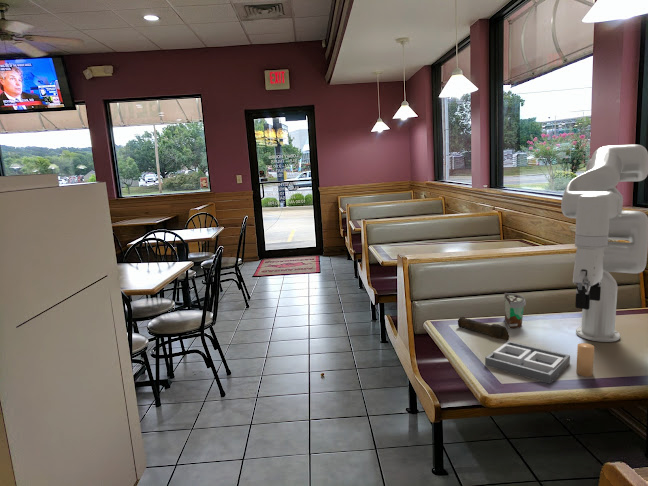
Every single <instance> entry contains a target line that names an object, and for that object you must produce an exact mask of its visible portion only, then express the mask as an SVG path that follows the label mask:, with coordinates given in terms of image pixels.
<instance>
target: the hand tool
mask: <svg viewBox="0 0 648 486" xmlns="http://www.w3.org/2000/svg"><path fill="white" fill-rule="evenodd" d="M457 327H458V328H462V329H468V330H471V331H475V332H478V333H482V334H486V335H488V336H490V338H493V339H497V340H503V341H510V335H509V331H508V329H507V327H506V326H504V325H502V324H501V325H500V324H497V323H493V324H489V323H484V322H481V321H476V320H474V319H471V318H466V317H465V316H460V317H459V319H457Z"/></svg>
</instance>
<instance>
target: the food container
mask: <svg viewBox="0 0 648 486" xmlns="http://www.w3.org/2000/svg"><path fill="white" fill-rule="evenodd" d="M526 305H527V302H526V299H525V297H524V296H523V295H520V294H518V293H512V292H504V321H505V323H506V324H507V327H508V329H519V328H520V327H522V325H523V317H524V307H525V306H526Z"/></svg>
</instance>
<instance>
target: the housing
mask: <svg viewBox="0 0 648 486" xmlns="http://www.w3.org/2000/svg"><path fill="white" fill-rule="evenodd" d="M484 360H485V361H484V363H485V364H484V366H485V367H489V368H492V369H496V370H499V371H503V372H506V373H510V374H514V375H518V376H521V377H525V378H528V379H531V380H535V381H539V382H543V383H546V384H551V383H552V382H553V381H554V380H555V379H556V378H557V377H558V376H559V375H560V374H561V373H562V372H563V371H564V370H565V369H566V368H568V366H569V365H570V364H571V355H570V354H565V353H561V352H557V351H552V350H549V349H544V348H540V347H535V346H531V345H526V344H522V343H518V342H515V341H510V340H507V342H505V343H504V344H502V345H501V346H500V347H497V349H495V350H494V351H492V352H491V353H490V354H488V355H487V356H485V357H484Z"/></svg>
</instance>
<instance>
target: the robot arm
mask: <svg viewBox="0 0 648 486" xmlns="http://www.w3.org/2000/svg"><path fill="white" fill-rule="evenodd" d="M585 168H586V169H585V172H583V173H581V174H580V175H578V176H576V177H574V178H572V179H570V181H569V182H568V183H567V185H566V186H565V188H564V192H563V194H562V197H561V203H560V206H561V207H560V209H561V212H562V215H563V216H564V217H565V218H566V217H567V218H569V219H575V232H574V233H575V236H574V248H576V251H575V257H574V266H573V275H572V283H573V285H576V287H575V288H576V289H575V302H574V303H575V306H574V307H575V308H576V309H582V311H581V326H578V327H576V328H575V334H576V335H577V336H579V337H580V338H582V339H585V340H589V341H594V342H599V343H613V342H617V341H619V340H620V339H621V334H620V332H618V331H617V330H616V320H617V319H616V317H617V300H618V283H617V281H616V279H615V278H614V277H613V275H612V274H611V273H625V274H641V273H642V272H644V271H645V268H646V267H647V261H648V215H647V214H646V213H645V212H644V211H641V210H640V211H639V210H628V209H627V210H624V209H623V204H624V197H623V195H622V193H621V192H620V191H619V190H618V188H617V185H619V182H625V183H627V182H633V183H634V182H642V181H644V180H645V179H646V178H647V177H648V150H647V148H646V147H645V146H643V145H641V144H634V143H633V144H632V143H631V144H615V145H603V146H602V147H601V146H600V147H599V148H597V149H596V150H595V151H594V152H593V153H592V155H591V159H589V160H588V161H587V162H586V167H585ZM609 240H619V241H609ZM621 241H623V242H621ZM624 241H625V242H624ZM627 241H628V242H627Z"/></svg>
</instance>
